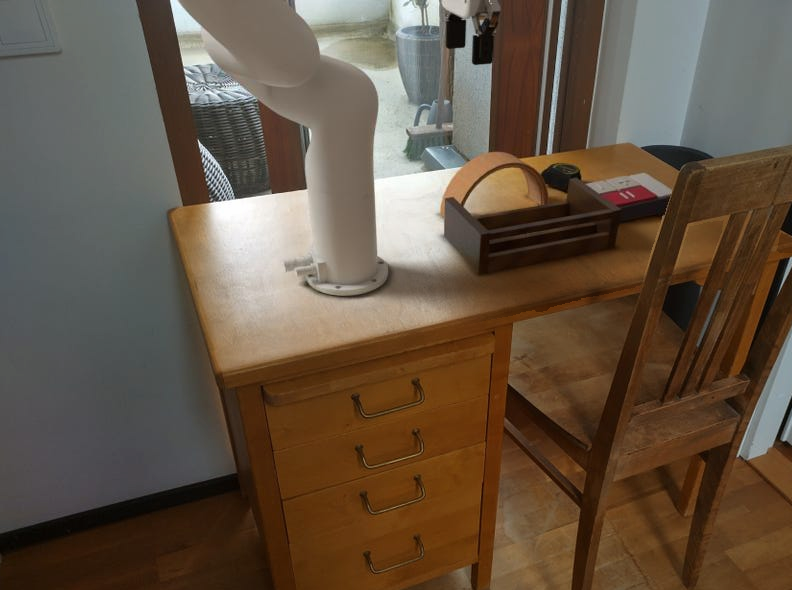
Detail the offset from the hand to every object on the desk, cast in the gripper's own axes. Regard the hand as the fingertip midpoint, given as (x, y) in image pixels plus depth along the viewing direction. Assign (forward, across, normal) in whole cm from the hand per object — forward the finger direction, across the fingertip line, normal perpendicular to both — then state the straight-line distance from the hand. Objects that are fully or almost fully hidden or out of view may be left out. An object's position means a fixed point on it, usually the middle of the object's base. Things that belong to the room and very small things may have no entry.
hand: (468, 55), depth 109 cm
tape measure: (+28, -8, +25) cm, 39 cm away
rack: (+28, +10, +8) cm, 31 cm away
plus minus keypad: (+28, +4, +32) cm, 43 cm away
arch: (+28, -3, +8) cm, 30 cm away
